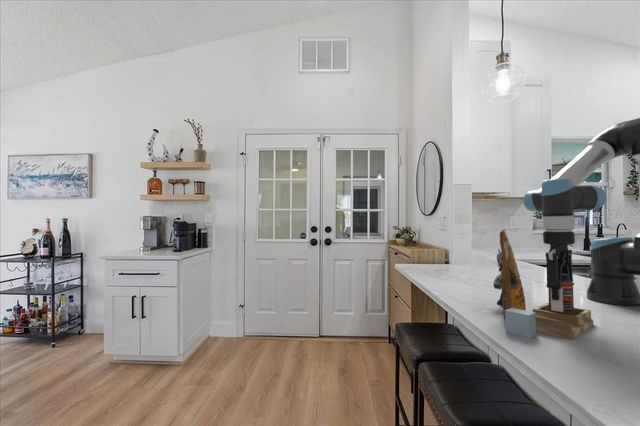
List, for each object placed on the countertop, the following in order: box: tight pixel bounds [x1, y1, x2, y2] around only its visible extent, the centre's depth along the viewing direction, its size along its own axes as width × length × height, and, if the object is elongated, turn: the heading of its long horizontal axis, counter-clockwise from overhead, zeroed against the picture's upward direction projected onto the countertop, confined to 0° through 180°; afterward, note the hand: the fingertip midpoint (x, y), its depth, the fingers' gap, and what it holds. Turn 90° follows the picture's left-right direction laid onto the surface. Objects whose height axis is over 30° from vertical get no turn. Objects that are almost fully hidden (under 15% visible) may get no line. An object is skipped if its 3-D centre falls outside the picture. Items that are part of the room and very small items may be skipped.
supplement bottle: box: [547, 273, 575, 314], centre depth 95 cm, size 6×6×11 cm
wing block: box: [504, 308, 537, 339], centre depth 88 cm, size 4×6×6 cm, turn 36°
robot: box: [492, 249, 503, 307], centre depth 117 cm, size 20×5×20 cm, turn 137°
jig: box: [532, 302, 594, 340], centre depth 93 cm, size 18×12×4 cm, turn 126°
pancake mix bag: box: [499, 228, 527, 319], centre depth 104 cm, size 7×19×28 cm, turn 141°
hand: (561, 308), depth 95 cm, fingers closed on supplement bottle, 6 cm apart
